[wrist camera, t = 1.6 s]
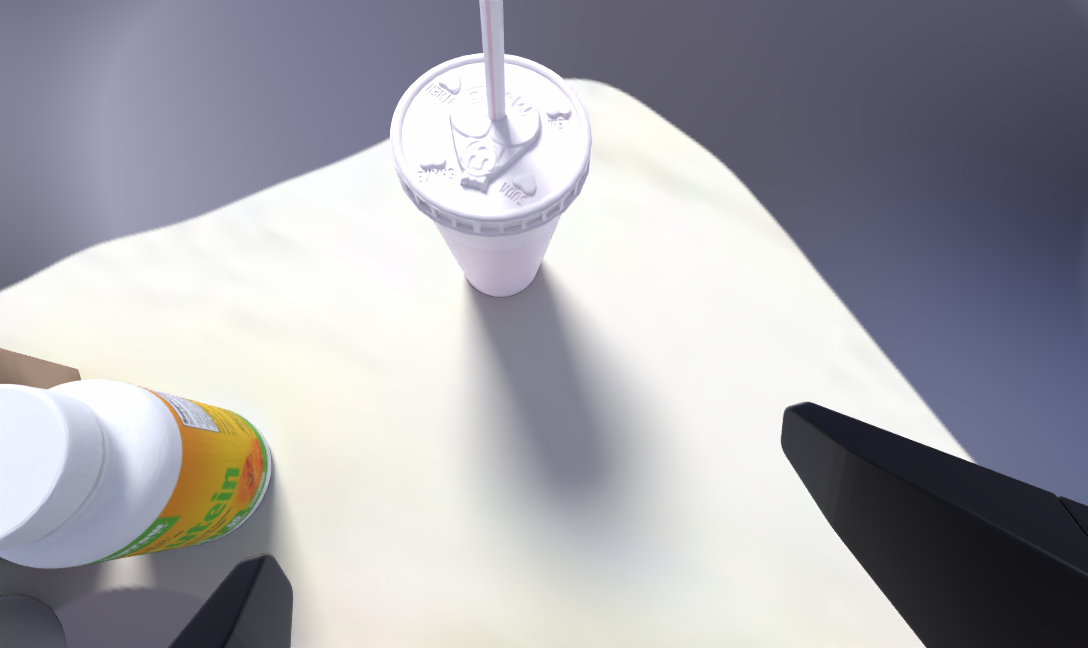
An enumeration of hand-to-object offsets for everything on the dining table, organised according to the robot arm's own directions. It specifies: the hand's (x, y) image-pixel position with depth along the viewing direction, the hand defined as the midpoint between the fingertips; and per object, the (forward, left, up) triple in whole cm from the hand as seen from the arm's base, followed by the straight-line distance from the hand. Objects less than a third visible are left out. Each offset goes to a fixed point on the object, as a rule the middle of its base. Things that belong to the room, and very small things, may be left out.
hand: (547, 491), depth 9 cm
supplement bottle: (+7, +11, -14) cm, 19 cm away
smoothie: (+10, -4, -14) cm, 18 cm away
